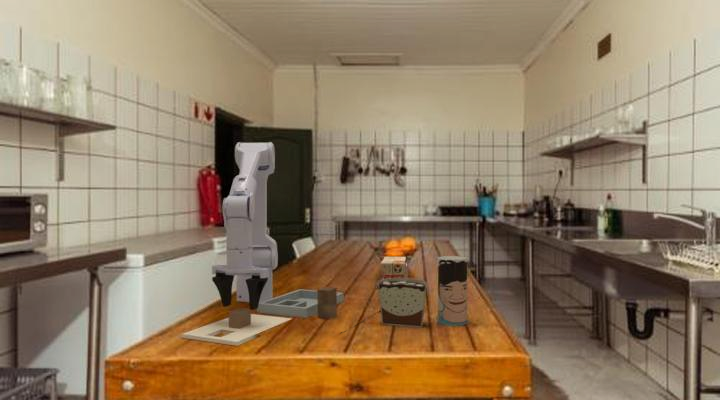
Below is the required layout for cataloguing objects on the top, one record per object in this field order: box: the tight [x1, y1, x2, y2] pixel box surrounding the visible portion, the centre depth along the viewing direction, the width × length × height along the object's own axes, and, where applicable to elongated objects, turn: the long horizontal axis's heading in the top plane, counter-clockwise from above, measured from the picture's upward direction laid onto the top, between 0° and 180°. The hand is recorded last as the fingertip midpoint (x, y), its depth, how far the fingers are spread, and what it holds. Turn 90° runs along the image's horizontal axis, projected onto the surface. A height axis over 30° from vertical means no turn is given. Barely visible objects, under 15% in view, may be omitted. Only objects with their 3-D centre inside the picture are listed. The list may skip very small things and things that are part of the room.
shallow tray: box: [256, 288, 345, 319], centre depth 136 cm, size 14×20×3 cm
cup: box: [437, 255, 468, 327], centre depth 122 cm, size 7×7×15 cm
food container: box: [375, 277, 429, 328], centre depth 122 cm, size 12×6×10 cm, turn 71°
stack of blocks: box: [380, 256, 409, 280], centre depth 146 cm, size 21×6×12 cm, turn 173°
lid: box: [181, 307, 292, 347], centre depth 117 cm, size 15×21×4 cm
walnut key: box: [316, 286, 338, 320], centre depth 125 cm, size 3×4×8 cm
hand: (240, 307), depth 120 cm, fingers open, 7 cm apart
